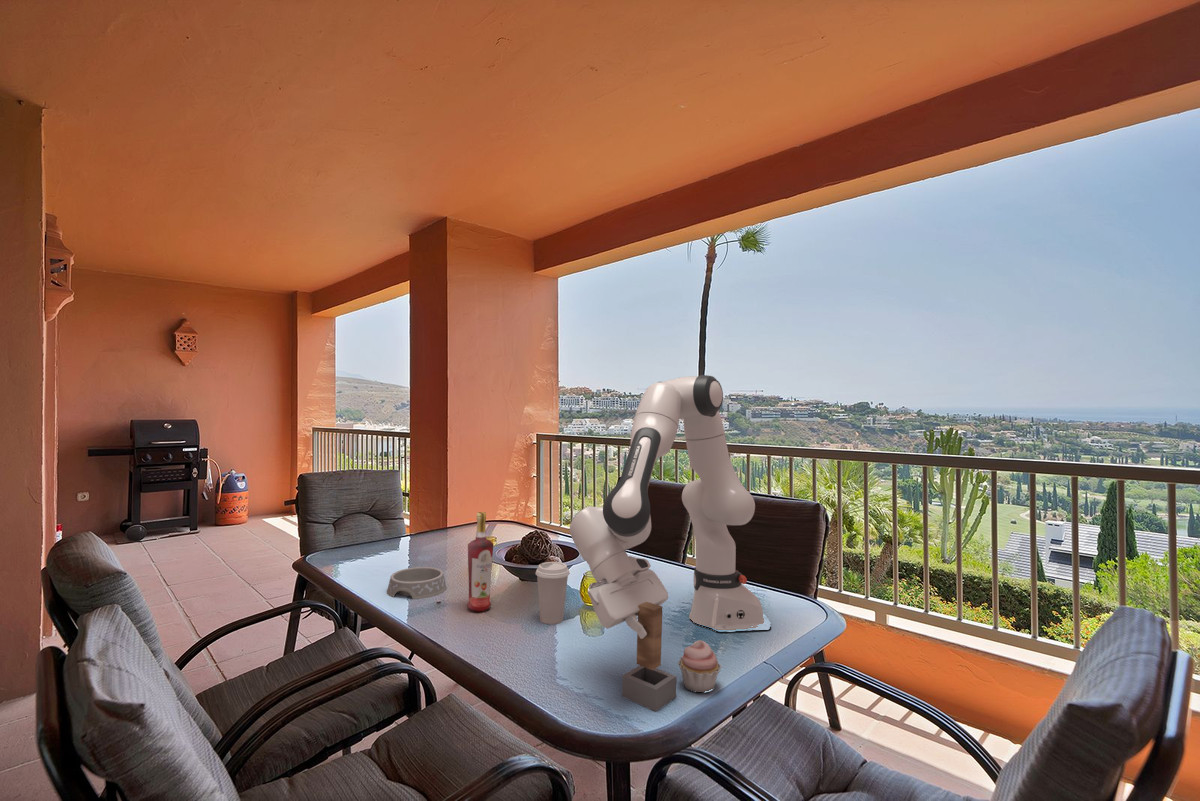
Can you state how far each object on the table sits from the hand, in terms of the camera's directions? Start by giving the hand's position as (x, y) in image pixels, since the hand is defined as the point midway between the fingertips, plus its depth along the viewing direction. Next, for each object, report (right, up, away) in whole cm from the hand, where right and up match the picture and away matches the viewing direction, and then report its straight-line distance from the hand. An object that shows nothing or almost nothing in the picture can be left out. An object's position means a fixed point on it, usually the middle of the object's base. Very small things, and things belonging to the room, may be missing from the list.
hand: (652, 633), depth 111 cm
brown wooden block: (-1, -7, 0) cm, 7 cm away
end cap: (-1, -13, 0) cm, 13 cm away
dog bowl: (-70, -13, +63) cm, 95 cm away
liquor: (-46, -13, +47) cm, 67 cm away
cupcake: (+11, -14, +5) cm, 18 cm away
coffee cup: (-24, -14, +40) cm, 49 cm away
